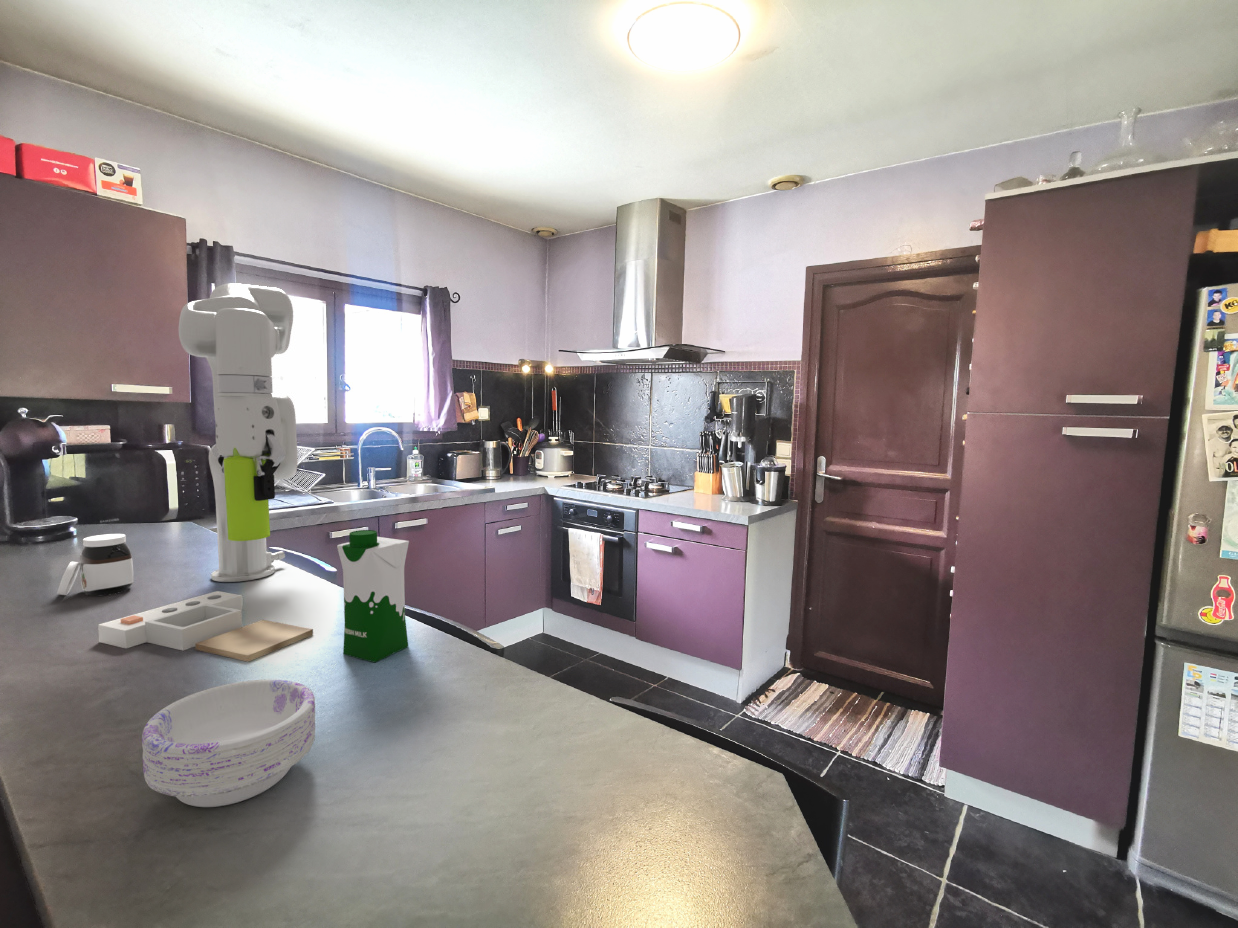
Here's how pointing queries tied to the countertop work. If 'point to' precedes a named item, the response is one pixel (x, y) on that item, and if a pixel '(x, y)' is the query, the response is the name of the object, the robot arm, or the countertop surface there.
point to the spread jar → (101, 566)
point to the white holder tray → (177, 622)
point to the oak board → (254, 640)
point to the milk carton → (373, 595)
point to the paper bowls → (228, 741)
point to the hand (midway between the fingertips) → (250, 497)
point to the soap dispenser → (244, 501)
